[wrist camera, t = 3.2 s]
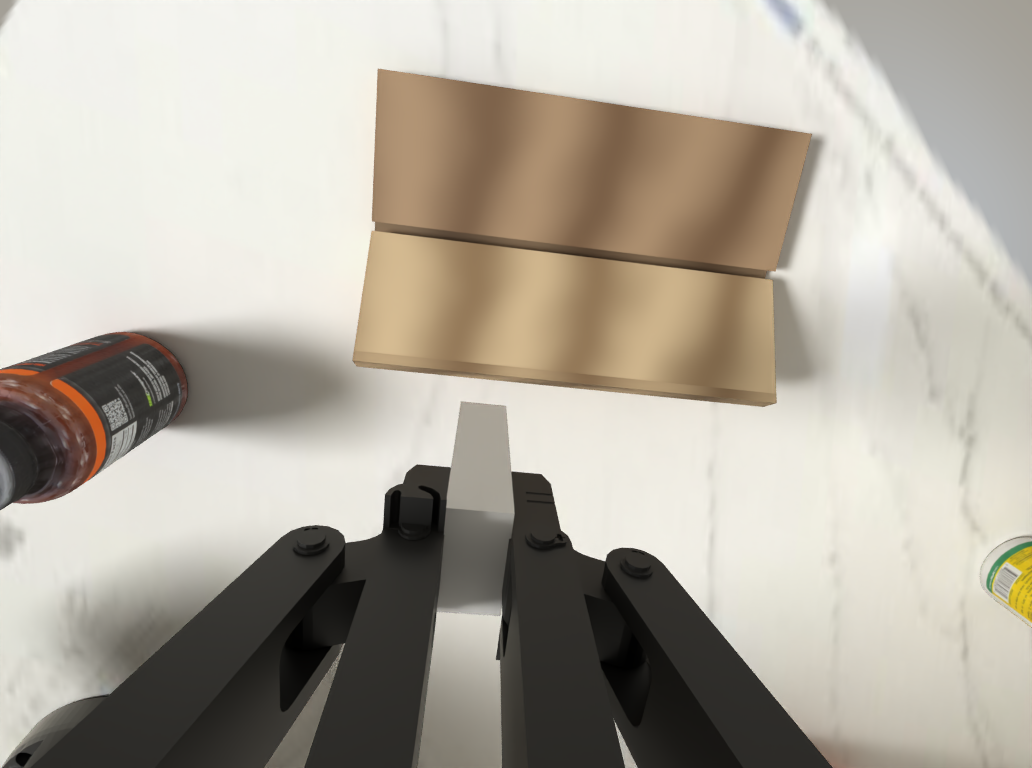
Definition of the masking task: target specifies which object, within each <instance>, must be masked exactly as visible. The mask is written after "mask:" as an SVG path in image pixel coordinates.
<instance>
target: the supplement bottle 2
mask: <svg viewBox="0 0 1032 768" xmlns="http://www.w3.org/2000/svg"><path fill="white" fill-rule="evenodd" d="M980 582H981V585H982V587H983V589H984V590H985V592H986V593H987V594H988V595H989V596H991V597H992V598H993V599H994V600H996V601H997V602H998V603H1000V604H1001V605H1002V606H1004V607H1005V608H1006V609H1008V610H1009V611H1010V612H1012V613H1013V614H1014V615H1015V616H1017V617H1018V618H1019V619H1021V620H1022V621H1023V622H1025V623H1026V624H1027V625H1029V626H1030V627H1031V628H1032V538H1029V537H1023V538H1016V539H1012V540H1010V541H1007V542H1005V543H1003V544H1001V545H1000V546H998V547H997V548H996V549H994V550H993V551H992V552H991V553H990V554H989V555H988V557H987V558H986V559H985V561H984V563H983V565H982V567H981V571H980Z"/></svg>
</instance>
